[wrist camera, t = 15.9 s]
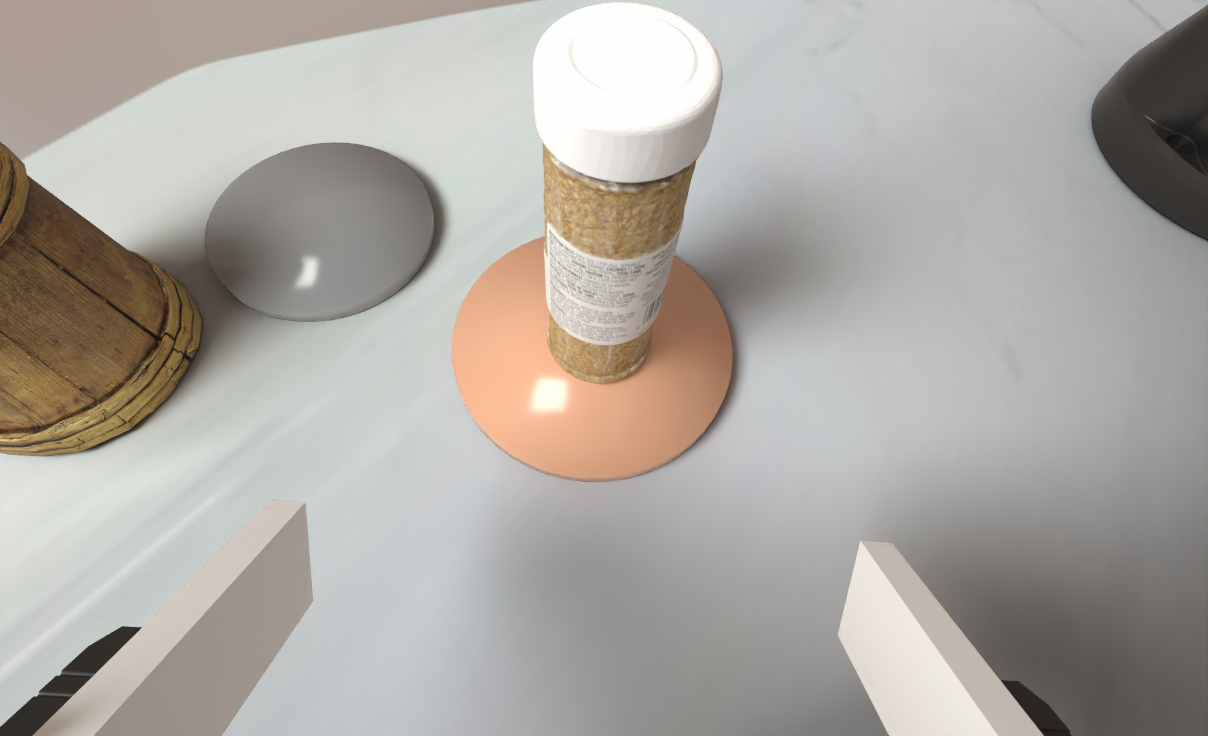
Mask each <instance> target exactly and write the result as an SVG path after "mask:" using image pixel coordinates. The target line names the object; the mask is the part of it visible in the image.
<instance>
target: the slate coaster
mask: <svg viewBox="0 0 1208 736" xmlns="http://www.w3.org/2000/svg"><path fill="white" fill-rule="evenodd" d="M434 231H435V219H434V214H433V209H432V205H431V202H430V198H429V195H428V193H427V190H426V188H425V186H424V184H423V183H422V181H421V179H420V178H419V177H418V176H417V174H416V173H415V172H414V171H413V170H412V169H411V168H410V167H409V166H407V165H406V164H405V163H404V162H402V161H401V160H399V159H398V158H396V157H394V156H392V155H390V154H388V153H386V152H384V151H381V150H378V149H375V148H372V147H368V146H364V145H359V144H351V143H319V144H312V145H306V146H302V147H298V148H293V149H290V150H287V151H284V152H281V153H278V154H276V155H274V156H272V157H269V158H267V159H265V160H263V161H261V162H260V163H258V164H256V165H254V166H253V167H251V168H250V169H248V170H247V171H245V172H244V173H243V174H242V175H240V176H239V177H238V178H237V179H236V180H234V181H233V182H232V183H231V184H230V185H229V187H228V188H227V189H226V190H225V191H224V192H223V193H222V195H221V196H220V198H219V199H218V200H217V202H216V204H215V206H214V207H213V209H212V211H211V214H210V216H209V219H208V222H207V226H206V232H205V248H206V254H207V258H208V260H209V263H210V265H211V268H212V269H213V271H214V272H215V274H216V276H217V277H218V278H219V280H220V281H221V282H222V283H223V284H224V285H225V287H226V288H227V289H228V290H229V291H230V292H231V293H232V294H233V295H234V297H236V298H237V299H238V300H240V301H241V302H242V303H243V304H245V305H247V306H248V307H250V308H252V309H254V310H255V311H258V312H260V313H263V314H265V315H268V316H271V317H275V318H279V319H284V320H291V321H310V322H314V321H325V320H332V319H337V318H342V317H346V316H349V315H353V314H356V313H359V312H362V311H364V310H366V309H369V308H371V307H373V306H375V305H377V304H379V303H381V302H383V301H384V300H386V299H388V298H389V297H391V296H392V295H393V294H395V293H396V292H398V291H399V290H400V289H401V288H402V287H404V286H405V285H406V284H407V283H408V282H409V281H410V280H411V279H412V278H413V277H414V275H415V274H416V273H417V272H418V271H419V269H420V268H421V266H422V265H423V263H424V262H425V260H426V258H427V256H428V254H429V252H430V249H431V246H432V242H433V238H434Z"/></svg>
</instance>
